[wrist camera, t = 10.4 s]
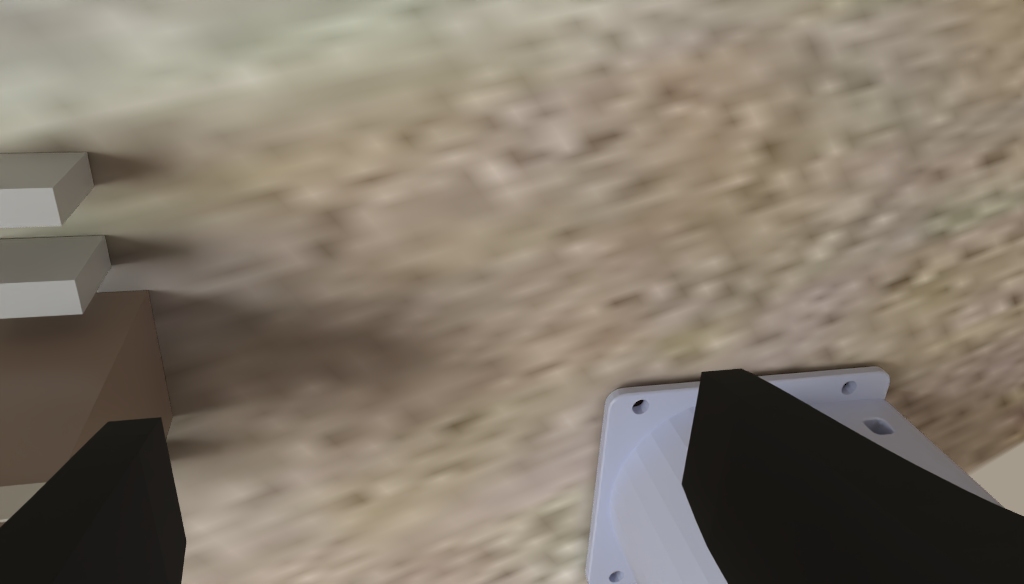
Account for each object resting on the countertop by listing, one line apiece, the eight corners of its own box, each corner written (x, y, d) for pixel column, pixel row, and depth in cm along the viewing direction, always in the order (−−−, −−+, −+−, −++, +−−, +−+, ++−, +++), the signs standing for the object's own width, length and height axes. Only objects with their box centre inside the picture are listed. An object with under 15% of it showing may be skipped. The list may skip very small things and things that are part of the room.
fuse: (149, 288, 19) (41, 519, 12) (174, 418, 20) (94, 686, 14) (-29, 297, 18) (-258, 551, 11) (13, 432, 20) (-161, 724, 13)
